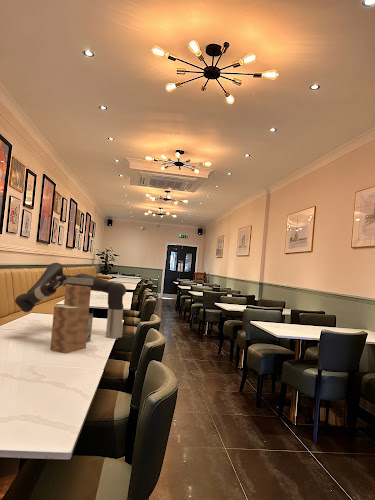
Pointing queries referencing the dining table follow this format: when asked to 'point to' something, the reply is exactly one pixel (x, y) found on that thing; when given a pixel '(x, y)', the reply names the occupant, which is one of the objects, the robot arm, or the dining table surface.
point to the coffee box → (89, 327)
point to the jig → (71, 320)
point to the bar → (77, 280)
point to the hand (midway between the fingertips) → (67, 277)
